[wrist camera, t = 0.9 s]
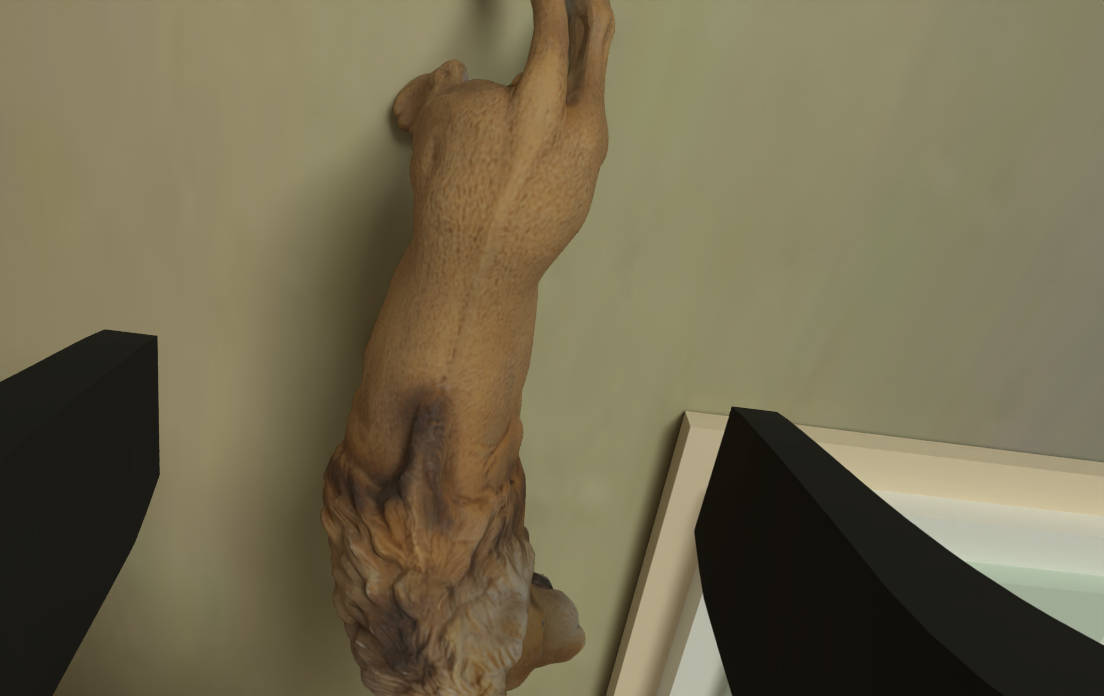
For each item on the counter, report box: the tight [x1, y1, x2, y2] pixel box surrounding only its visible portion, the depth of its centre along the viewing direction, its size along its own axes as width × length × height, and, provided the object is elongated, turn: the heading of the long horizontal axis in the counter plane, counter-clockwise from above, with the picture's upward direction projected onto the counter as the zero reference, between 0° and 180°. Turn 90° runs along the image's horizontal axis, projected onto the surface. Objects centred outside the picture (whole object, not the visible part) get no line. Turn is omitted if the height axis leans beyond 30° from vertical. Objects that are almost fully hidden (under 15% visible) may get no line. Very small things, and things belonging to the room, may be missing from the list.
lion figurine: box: [320, 0, 615, 696], centre depth 15 cm, size 12×4×7 cm, turn 175°
